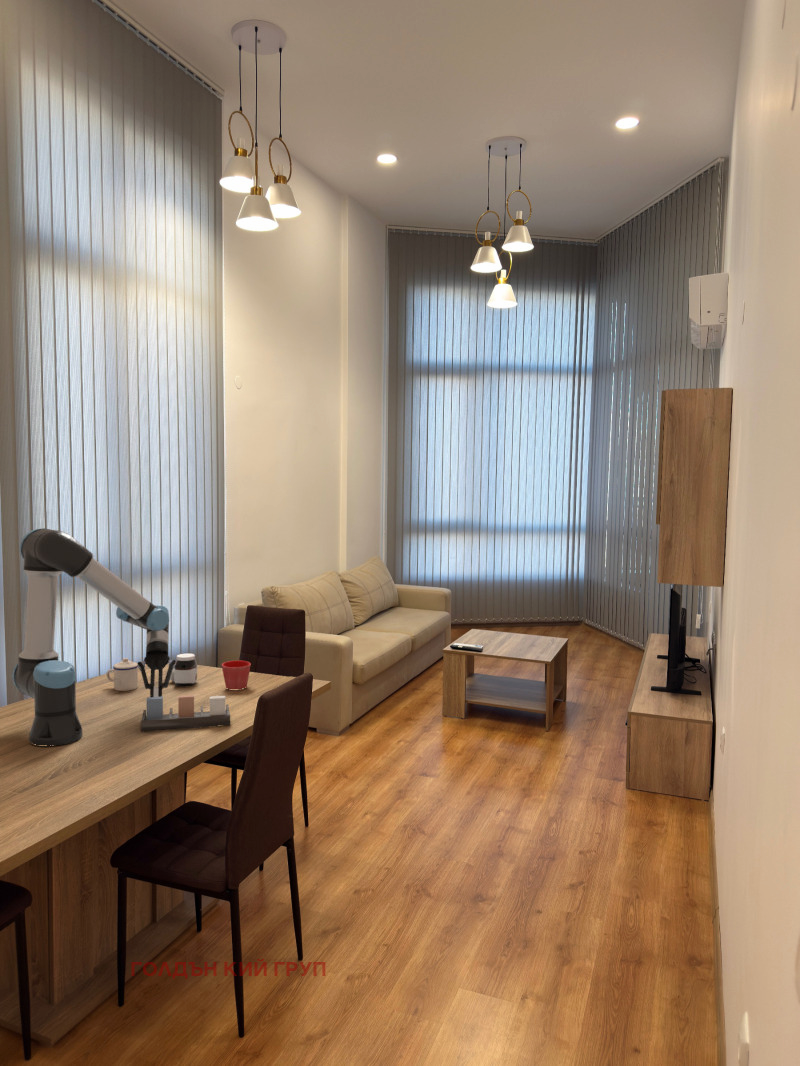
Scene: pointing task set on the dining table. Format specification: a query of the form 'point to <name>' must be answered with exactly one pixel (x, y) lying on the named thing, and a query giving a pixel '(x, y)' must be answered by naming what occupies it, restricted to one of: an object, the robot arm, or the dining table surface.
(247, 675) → the flower pot
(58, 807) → the dining table surface
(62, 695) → the robot arm
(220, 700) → the key offwhite
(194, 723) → the grey compartment tray
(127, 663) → the teacup with lid
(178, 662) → the spread jar
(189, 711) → the key terracotta
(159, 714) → the key slate
